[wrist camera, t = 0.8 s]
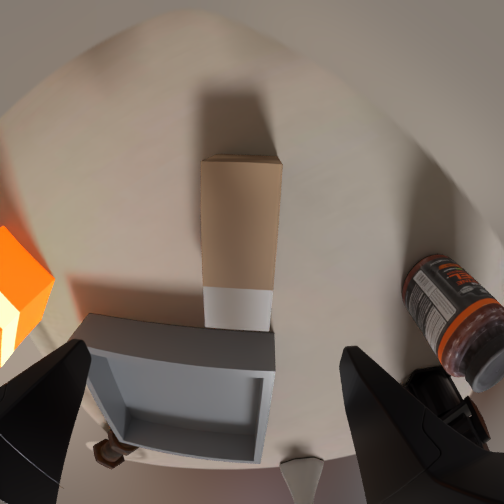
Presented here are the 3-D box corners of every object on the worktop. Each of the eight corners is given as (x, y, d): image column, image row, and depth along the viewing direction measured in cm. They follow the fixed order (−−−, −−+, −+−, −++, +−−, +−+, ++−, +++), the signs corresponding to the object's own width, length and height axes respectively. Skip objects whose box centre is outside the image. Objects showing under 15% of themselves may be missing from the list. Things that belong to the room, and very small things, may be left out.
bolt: (145, 413, 33) (117, 441, 38) (112, 411, 30) (91, 439, 35) (155, 449, 29) (124, 469, 34) (120, 450, 26) (97, 469, 31)
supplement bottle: (462, 255, 20) (542, 328, 10) (440, 311, 22) (498, 395, 12) (412, 247, 20) (496, 335, 10) (390, 310, 22) (444, 411, 12)
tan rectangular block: (277, 156, 18) (282, 164, 13) (268, 290, 22) (269, 331, 17) (216, 154, 18) (200, 161, 13) (216, 287, 22) (205, 327, 17)
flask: (287, 475, 37) (288, 523, 28) (272, 461, 34) (271, 517, 25) (328, 466, 36) (334, 516, 26) (318, 452, 33) (323, 509, 24)
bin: (274, 333, 24) (275, 371, 19) (261, 434, 31) (260, 463, 26) (89, 313, 24) (67, 341, 20) (129, 416, 31) (119, 441, 27)
